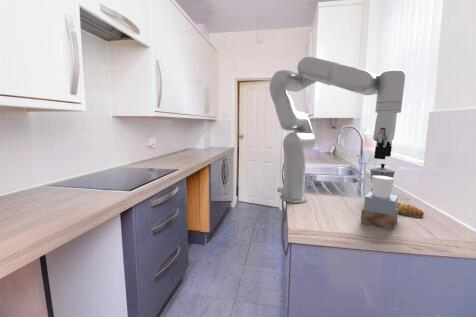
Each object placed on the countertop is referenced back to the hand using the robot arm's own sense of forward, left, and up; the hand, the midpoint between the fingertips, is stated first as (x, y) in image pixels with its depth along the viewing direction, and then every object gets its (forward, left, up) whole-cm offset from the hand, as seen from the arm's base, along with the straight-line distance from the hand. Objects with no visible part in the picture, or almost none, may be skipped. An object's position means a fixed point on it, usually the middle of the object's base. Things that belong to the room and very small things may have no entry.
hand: (382, 157), depth 84 cm
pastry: (+7, +17, -24) cm, 31 cm away
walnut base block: (+1, 0, -24) cm, 24 cm away
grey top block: (+1, 0, -19) cm, 19 cm away
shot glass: (+1, -1, -14) cm, 14 cm away
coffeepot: (-4, +26, -24) cm, 36 cm away
